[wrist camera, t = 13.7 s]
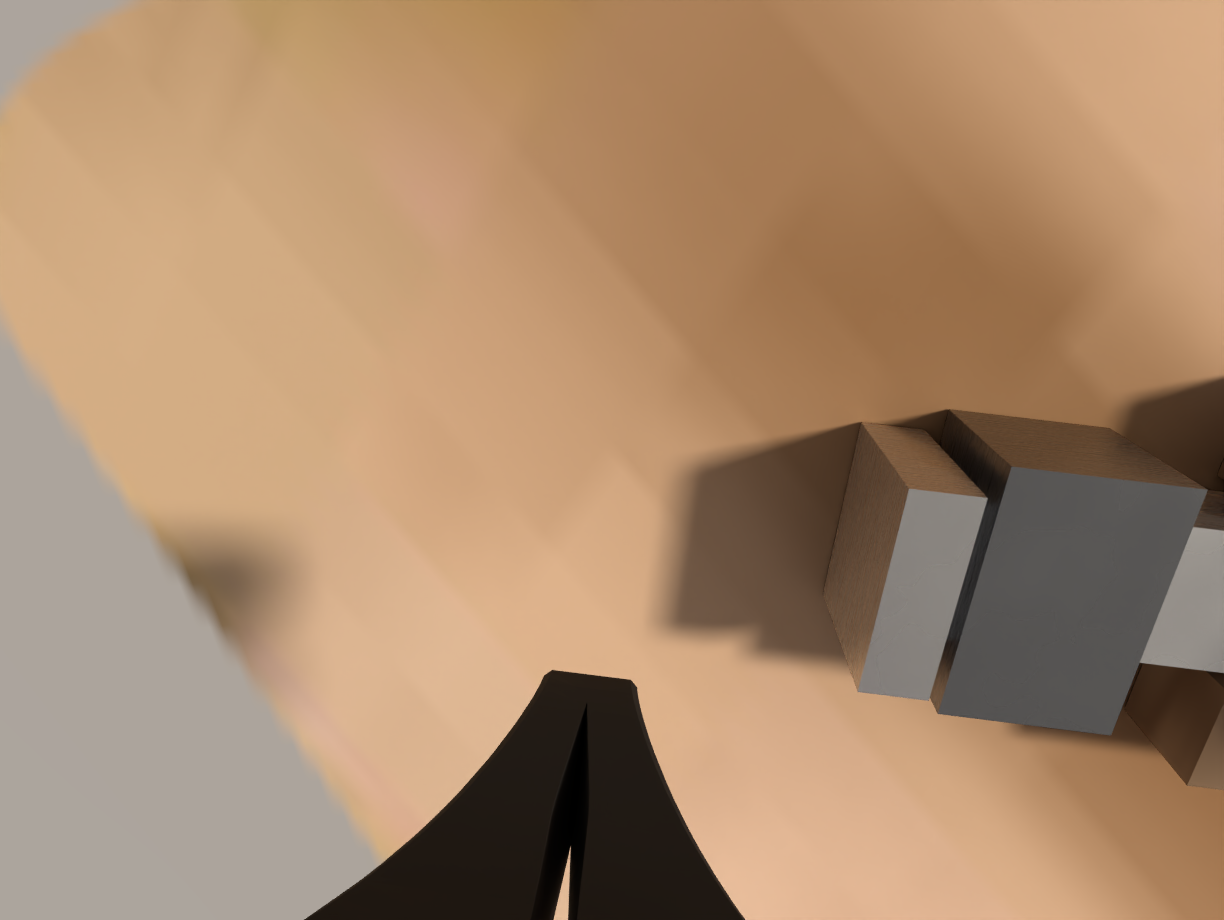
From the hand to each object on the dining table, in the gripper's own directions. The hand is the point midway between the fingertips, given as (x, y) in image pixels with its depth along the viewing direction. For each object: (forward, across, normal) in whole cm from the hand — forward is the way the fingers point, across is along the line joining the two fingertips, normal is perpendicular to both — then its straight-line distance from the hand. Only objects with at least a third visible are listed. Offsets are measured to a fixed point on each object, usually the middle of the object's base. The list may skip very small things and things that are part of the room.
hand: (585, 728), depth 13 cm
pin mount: (+10, -10, 0) cm, 14 cm away
